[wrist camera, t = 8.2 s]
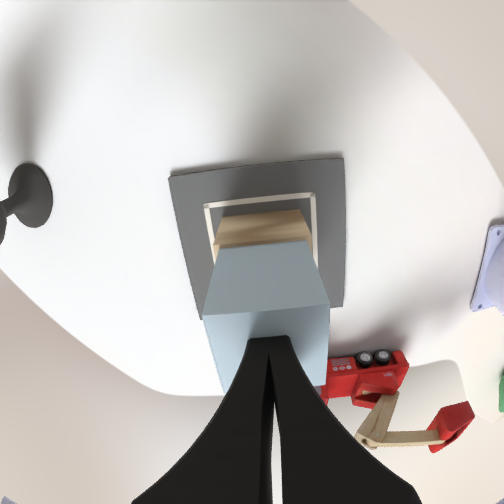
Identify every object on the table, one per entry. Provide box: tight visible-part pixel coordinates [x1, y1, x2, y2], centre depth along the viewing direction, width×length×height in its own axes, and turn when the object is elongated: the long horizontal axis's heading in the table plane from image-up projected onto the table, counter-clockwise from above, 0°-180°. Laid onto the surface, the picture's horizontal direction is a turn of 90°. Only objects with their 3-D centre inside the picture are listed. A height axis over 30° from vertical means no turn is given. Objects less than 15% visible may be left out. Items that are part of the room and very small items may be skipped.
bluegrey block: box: [202, 240, 330, 393], centre depth 12 cm, size 4×4×5 cm
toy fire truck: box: [314, 350, 475, 453], centre depth 19 cm, size 3×14×10 cm, turn 92°
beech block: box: [213, 209, 312, 260], centre depth 16 cm, size 4×4×4 cm
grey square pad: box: [168, 158, 346, 320], centre depth 18 cm, size 10×10×1 cm
